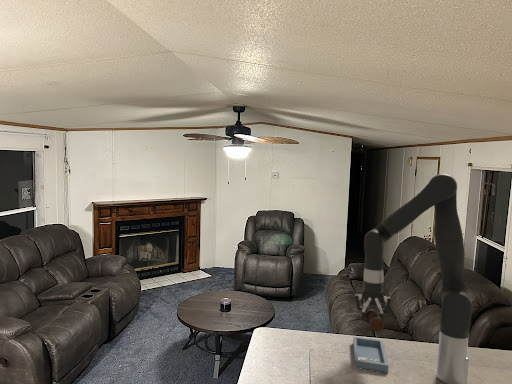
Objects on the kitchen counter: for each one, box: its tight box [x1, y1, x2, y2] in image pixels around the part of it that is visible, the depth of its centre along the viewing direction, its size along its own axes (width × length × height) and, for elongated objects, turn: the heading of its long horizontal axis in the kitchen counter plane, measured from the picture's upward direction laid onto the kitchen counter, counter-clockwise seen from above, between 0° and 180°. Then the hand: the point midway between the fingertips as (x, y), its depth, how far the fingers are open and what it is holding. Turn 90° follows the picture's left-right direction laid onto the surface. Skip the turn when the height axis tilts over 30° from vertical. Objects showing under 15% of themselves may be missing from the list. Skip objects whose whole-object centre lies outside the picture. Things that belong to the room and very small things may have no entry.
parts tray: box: [352, 336, 390, 374], centre depth 150 cm, size 12×21×3 cm, turn 167°
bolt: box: [365, 307, 386, 332], centre depth 148 cm, size 6×5×15 cm
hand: (371, 321), depth 149 cm, fingers closed on bolt, 5 cm apart
